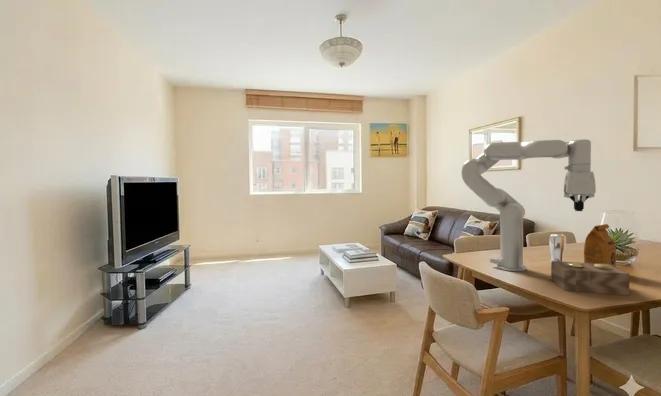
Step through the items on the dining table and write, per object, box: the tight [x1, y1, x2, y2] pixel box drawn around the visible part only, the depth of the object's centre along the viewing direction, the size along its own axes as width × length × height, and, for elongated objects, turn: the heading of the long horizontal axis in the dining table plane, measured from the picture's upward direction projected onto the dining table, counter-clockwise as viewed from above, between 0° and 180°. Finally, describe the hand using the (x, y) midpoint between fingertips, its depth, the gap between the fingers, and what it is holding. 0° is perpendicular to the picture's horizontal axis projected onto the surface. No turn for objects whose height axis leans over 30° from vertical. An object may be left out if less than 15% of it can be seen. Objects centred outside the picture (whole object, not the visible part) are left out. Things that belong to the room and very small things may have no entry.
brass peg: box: [567, 262, 583, 268], centre depth 124 cm, size 5×5×8 cm
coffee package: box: [583, 223, 617, 268], centre depth 140 cm, size 10×12×22 cm
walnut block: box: [550, 260, 630, 296], centre depth 122 cm, size 20×14×9 cm
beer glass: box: [548, 233, 567, 265], centre depth 155 cm, size 7×7×15 cm
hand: (578, 210), depth 134 cm, fingers closed
